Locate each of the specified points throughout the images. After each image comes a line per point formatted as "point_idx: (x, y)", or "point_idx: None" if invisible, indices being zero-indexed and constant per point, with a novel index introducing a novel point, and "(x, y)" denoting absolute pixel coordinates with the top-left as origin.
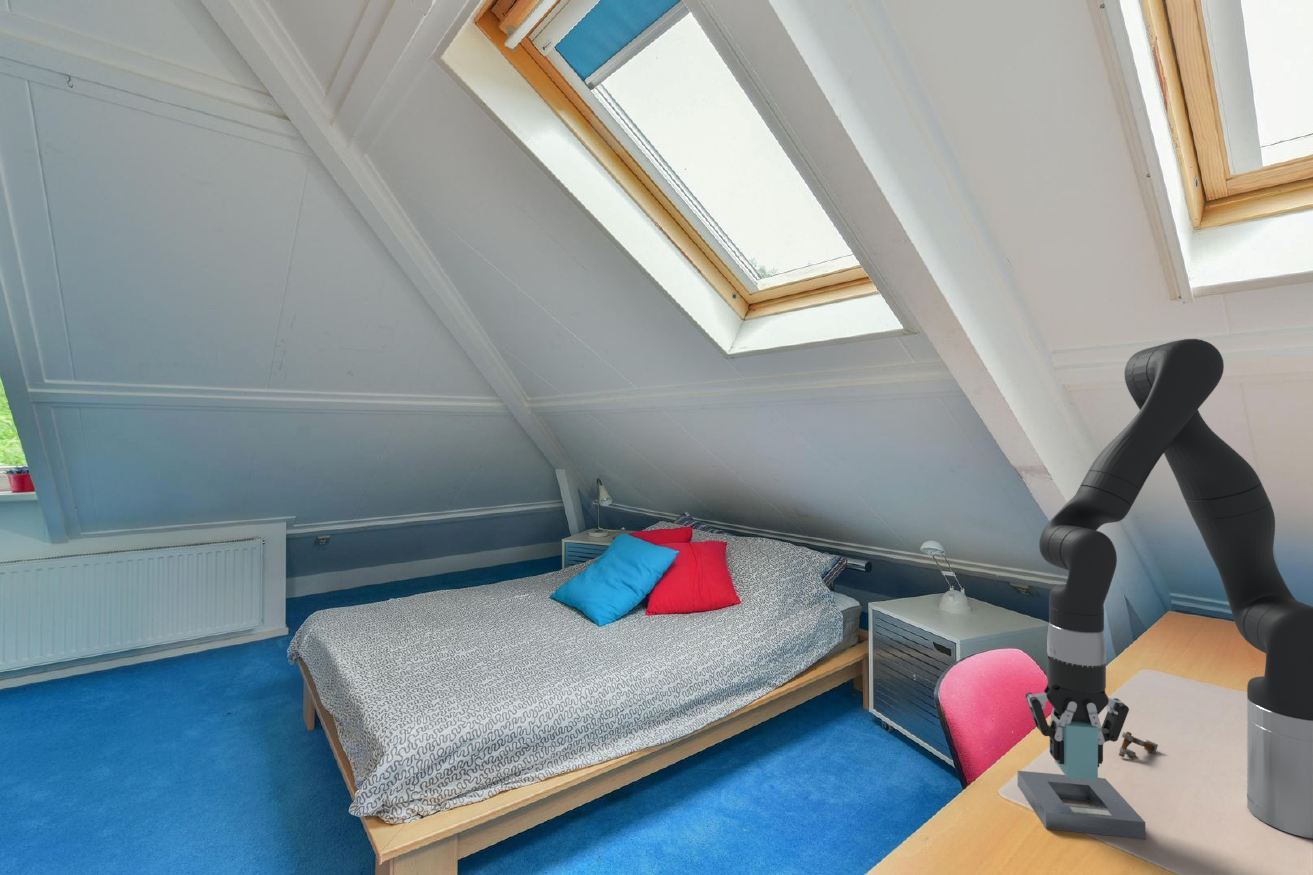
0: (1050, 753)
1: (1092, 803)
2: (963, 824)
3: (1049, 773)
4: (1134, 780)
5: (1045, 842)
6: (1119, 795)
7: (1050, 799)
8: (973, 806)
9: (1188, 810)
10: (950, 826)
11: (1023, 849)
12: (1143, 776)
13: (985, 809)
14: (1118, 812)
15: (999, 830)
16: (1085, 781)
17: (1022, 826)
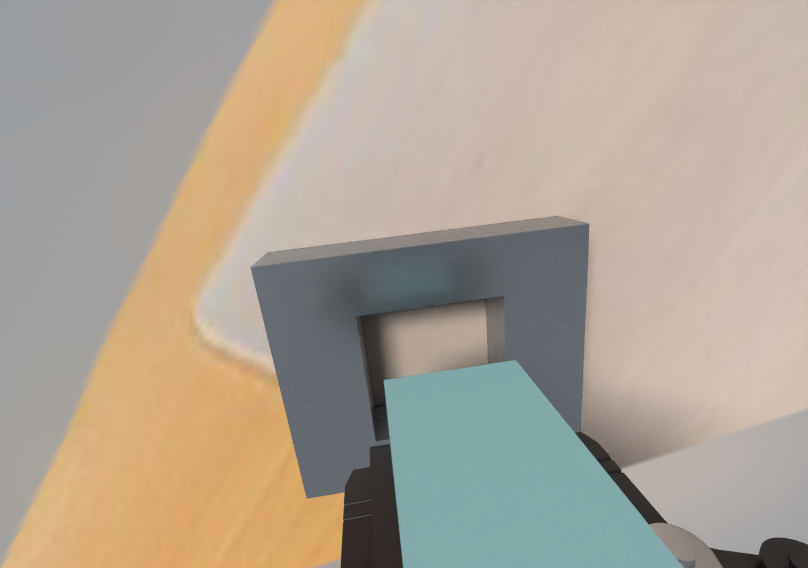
0: (349, 478)
1: (487, 301)
2: (87, 511)
3: (380, 251)
4: (708, 82)
5: (300, 509)
6: (579, 331)
7: (338, 428)
8: (111, 423)
9: (756, 242)
10: (51, 531)
11: (241, 549)
12: (760, 36)
13: (149, 426)
14: None
15: (187, 503)
16: (502, 272)
17: (251, 468)
